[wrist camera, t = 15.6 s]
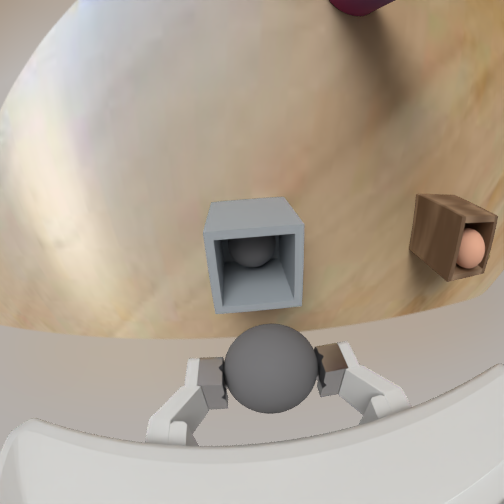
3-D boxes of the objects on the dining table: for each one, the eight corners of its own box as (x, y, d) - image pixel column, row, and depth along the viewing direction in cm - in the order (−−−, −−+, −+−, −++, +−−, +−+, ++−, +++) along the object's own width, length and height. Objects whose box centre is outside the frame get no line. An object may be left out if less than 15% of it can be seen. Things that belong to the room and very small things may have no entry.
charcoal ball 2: (308, 300, 12) (335, 366, 8) (303, 360, 14) (321, 421, 10) (218, 309, 12) (216, 380, 8) (229, 368, 13) (230, 432, 10)
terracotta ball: (484, 221, 19) (495, 259, 18) (460, 233, 23) (469, 268, 22) (465, 224, 19) (476, 266, 18) (439, 237, 23) (449, 275, 22)
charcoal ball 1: (271, 211, 24) (278, 227, 20) (272, 252, 26) (279, 273, 22) (226, 215, 24) (225, 231, 20) (230, 256, 25) (230, 278, 22)
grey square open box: (283, 196, 24) (304, 224, 17) (284, 261, 27) (301, 305, 20) (211, 202, 24) (202, 232, 17) (219, 266, 26) (215, 314, 20)
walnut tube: (454, 195, 25) (498, 216, 18) (446, 244, 27) (483, 273, 21) (416, 194, 24) (462, 216, 18) (409, 248, 27) (447, 281, 20)
